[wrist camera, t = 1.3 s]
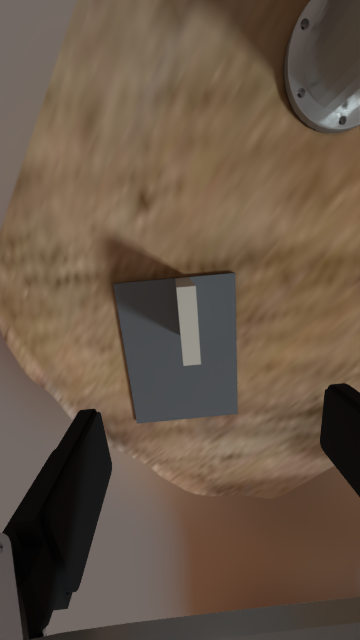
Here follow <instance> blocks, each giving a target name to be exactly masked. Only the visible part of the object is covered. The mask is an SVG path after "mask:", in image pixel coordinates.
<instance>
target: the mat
mask: <svg viewBox="0 0 360 640" xmlns="http://www.w3.org/2000/svg"><path fill="white" fill-rule="evenodd" d="M182 278H186V277H182ZM189 278H190V279H191V281H192V282H193V283H194V284H195V286H196V297H197V312H198V327H199V342H200V357H201V364H199V365H188V366H183V356H182V347H181V337H180V326H179V315H178V304H177V293H176V282H175V278H171V279H160V280H149V281H138V282H127V283H116V284H114V290H115V296H116V302H117V308H118V314H119V320H120V326H121V331H122V337H123V343H124V349H125V355H126V361H127V367H128V373H129V379H130V385H131V391H132V397H133V403H134V408H135V414H136V420H137V423H147V422H157V421H168V420H178V419H188V418H199V417H209V416H220V415H230V414H238V413H237V356H236V298H235V273H226V274H215V275H204V276H193V277H189Z"/></svg>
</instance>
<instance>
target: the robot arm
mask: <svg viewBox="0 0 360 640" xmlns="http://www.w3.org/2000/svg"><path fill="white" fill-rule="evenodd" d="M284 80H285V89H286V92H287V95H288V99H289V102H290V104H291V106H292V108H293V110H294V112H295V113H296V114H297V115H298V117H299V118H300V119H301V120H302V121H303V122H304V123H305V124H306V125H308V126H309V127H311V128H313V129H315V130H317V131H320V132H324V133H341V132H345V131H348V130H351V129H353V128H355V127H357V126H359V125H360V0H310V1H309V2H308V3H307V5H306V7H305V8H304V10H303V12H302V13H301V15H300V17H299V19H298V21H297V23H296V25H295V27H294V29H293V31H292V33H291V36H290V39H289V42H288V45H287V49H286V55H285V60H284ZM320 444H321V447H322V449H323V451H324V452H325V454H326V455H327V456H328V457H329V459H330V460H331V461H332V462H333V464H334V465H335V466H336V468H337V469H338V470H339V471H340V473H341V474H342V475H343V476H344V478H345V479H346V480H347V482H348V483H349V484H350V485H351V486H352V488H353V489H354V490H355V492H356V493H357V494H358V495H359V497H360V393H359V392H358V391H357V390H355V389H354V388H352V387H351V386H350V385H348V384H345V383H342V384H332V385H329V387H328V389H326V390H325V395H324V405H323V415H322V425H321V435H320ZM111 471H112V462H111V457H110V453H109V448H108V444H107V439H106V435H105V430H104V426H103V421H102V417H101V413H100V412H96V410H95V409H87V410H80V411H79V412H78V414H77V415H76V417H75V419H74V420H73V422H72V423H71V425H70V427H69V428H68V430H67V432H66V433H65V435H64V437H63V438H62V440H61V442H60V443H59V445H58V447H57V448H56V449H55V450H54V451H53V452H52V453H51V455H50V456H49V458H48V460H47V461H46V463H45V464H44V466H43V467H42V469H41V471H40V473H39V474H38V476H37V477H36V479H35V480H34V482H33V484H32V486H31V487H30V489H29V490H28V492H27V493H26V495H25V497H24V498H23V500H22V502H21V503H20V505H19V506H18V508H17V510H16V511H15V513H14V515H13V516H12V518H11V519H10V521H9V523H8V524H7V526H6V527H5V529H4V531H3V532H2V533H0V640H360V597H350V598H342V599H333V600H324V601H314V602H306V603H297V604H288V605H280V606H271V607H261V608H252V609H245V610H244V609H243V610H235V611H226V612H219V613H209V614H201V615H194V616H184V617H176V618H167V619H159V620H151V621H143V622H134V623H126V624H120V625H113V626H105V627H99V628H92V629H85V630H78V631H71V632H64V633H58V634H54V635H49V636H47V634H46V629H45V628H46V626H47V625H48V624H49V621H50V618H51V615H52V612H53V610H60V609H67V608H68V606H69V602H70V599H71V596H72V592H76V591H77V590H78V588H79V586H80V583H81V579H82V576H83V572H84V568H85V565H86V561H87V558H88V554H89V550H90V547H91V543H92V540H93V536H94V533H95V529H96V525H97V522H98V519H99V515H100V511H101V508H102V504H103V501H104V497H105V494H106V490H107V487H108V483H109V479H110V476H111Z"/></svg>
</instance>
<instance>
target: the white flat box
mask: <svg viewBox="0 0 360 640" xmlns="http://www.w3.org/2000/svg"><path fill="white" fill-rule="evenodd" d="M175 282H176V293H177V304H178V315H179V326H180V337H181V347H182V356H183V366H188V365H199V364H201V357H200V342H199V327H198V312H197V297H196V286H195V284H194V283H193V282H192V281H191V279H190V278H189V277H186V278H175Z"/></svg>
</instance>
